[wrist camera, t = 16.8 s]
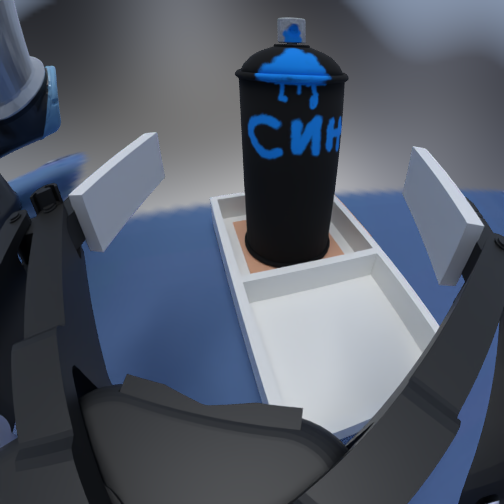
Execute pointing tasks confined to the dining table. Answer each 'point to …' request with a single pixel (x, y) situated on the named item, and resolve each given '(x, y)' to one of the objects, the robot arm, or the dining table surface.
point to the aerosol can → (290, 147)
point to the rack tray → (324, 321)
